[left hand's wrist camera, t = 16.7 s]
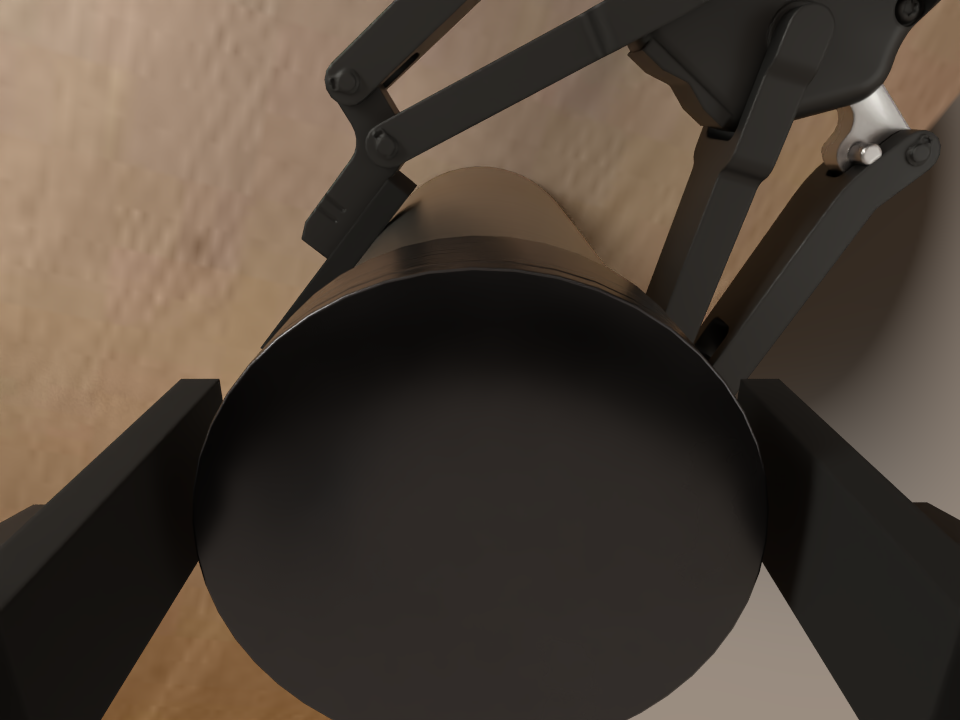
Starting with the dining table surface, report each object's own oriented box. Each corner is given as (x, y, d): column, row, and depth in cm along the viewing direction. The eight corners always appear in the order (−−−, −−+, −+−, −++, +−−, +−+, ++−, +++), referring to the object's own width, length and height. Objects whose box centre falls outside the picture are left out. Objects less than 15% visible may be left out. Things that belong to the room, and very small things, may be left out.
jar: (550, 376, 29) (644, 745, 13) (367, 338, 29) (208, 672, 12) (602, 192, 27) (814, 348, 10) (400, 145, 26) (254, 225, 9)
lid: (745, 227, 11) (810, 257, 9) (696, 651, 14) (736, 750, 12) (202, 241, 11) (135, 275, 9) (275, 660, 14) (239, 760, 12)
